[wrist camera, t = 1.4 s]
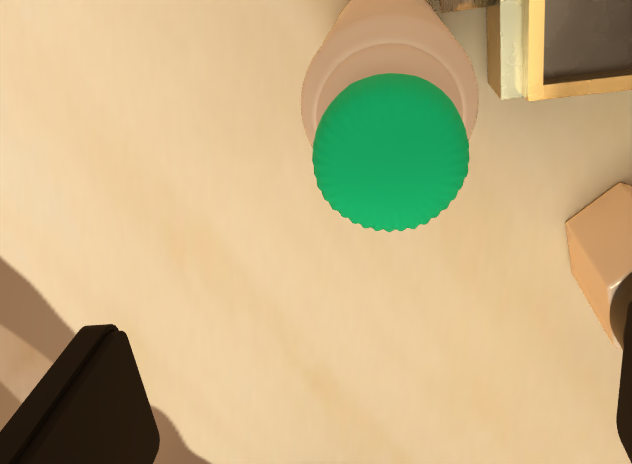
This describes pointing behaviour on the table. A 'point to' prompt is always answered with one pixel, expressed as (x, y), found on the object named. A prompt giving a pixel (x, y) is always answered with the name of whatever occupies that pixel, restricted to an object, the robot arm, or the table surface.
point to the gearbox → (555, 46)
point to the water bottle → (389, 114)
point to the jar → (605, 258)
